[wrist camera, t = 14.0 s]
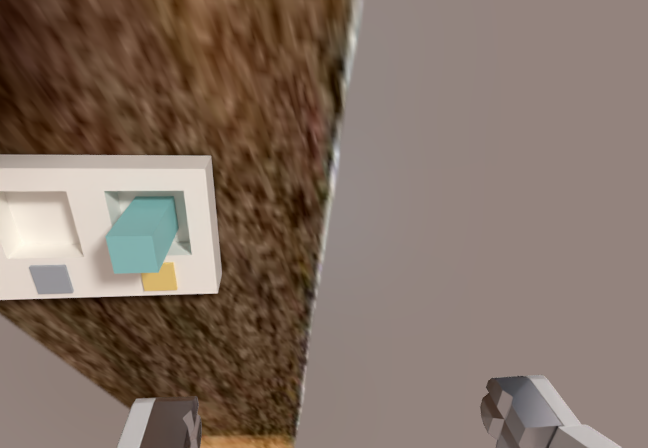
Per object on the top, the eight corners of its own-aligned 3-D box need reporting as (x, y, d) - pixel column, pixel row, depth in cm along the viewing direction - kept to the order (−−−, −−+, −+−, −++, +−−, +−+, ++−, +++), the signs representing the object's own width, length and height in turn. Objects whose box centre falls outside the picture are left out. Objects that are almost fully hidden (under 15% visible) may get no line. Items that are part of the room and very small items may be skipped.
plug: (135, 196, 37) (105, 236, 31) (173, 196, 38) (152, 235, 31) (142, 229, 39) (114, 273, 32) (178, 228, 39) (158, 272, 32)
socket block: (-26, 154, 35) (-58, 169, 32) (210, 155, 37) (204, 169, 34) (20, 278, 41) (-3, 302, 38) (221, 273, 43) (217, 295, 40)
